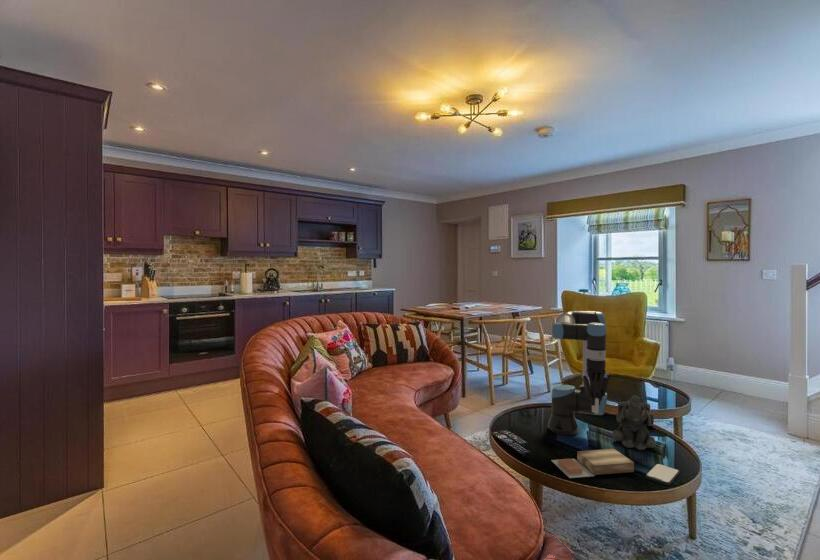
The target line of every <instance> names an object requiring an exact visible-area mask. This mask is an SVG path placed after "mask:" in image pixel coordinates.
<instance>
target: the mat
mask: <svg viewBox="0 0 820 560" xmlns="http://www.w3.org/2000/svg"><path fill="white" fill-rule="evenodd" d="M571 459H572V460H573V461H574V462H575V463H577V464H578V465H579V466H580V467H581V468H583V473H579V474H568V473H567V472H566V471H565V470H564V469H563V468H562V467H561V466H560V465H559V464H558V459H551V462H552V463H553V464H554V465H555V466H556V468H558V469H559V470H560V471H561V472H563V474H564V475H566V477H568V478H569V479H576V478H590V477H595V475H594V474H593V473H592V472H591V471H590V470H588V469H587V468H586V467H585V466H584V465H582V464H581V463H580V462H579V461H578V460H577V459H575V458H571Z"/></svg>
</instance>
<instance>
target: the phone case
mask: <svg viewBox="0 0 820 560" xmlns="http://www.w3.org/2000/svg"><path fill="white" fill-rule="evenodd" d="M679 475H680V470H679V469H676V468H674V467H670V466H668V465H664V464H661V463H656V464H655V465H654V466H653V467H652V468H650V469H649V471H648V472H647V473H645V478H646V479H648V480H650V481H652V482H656V483H659V484H662V485H664V486H671V485H672V483H674V481H675V480H676V478H678V476H679Z"/></svg>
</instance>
